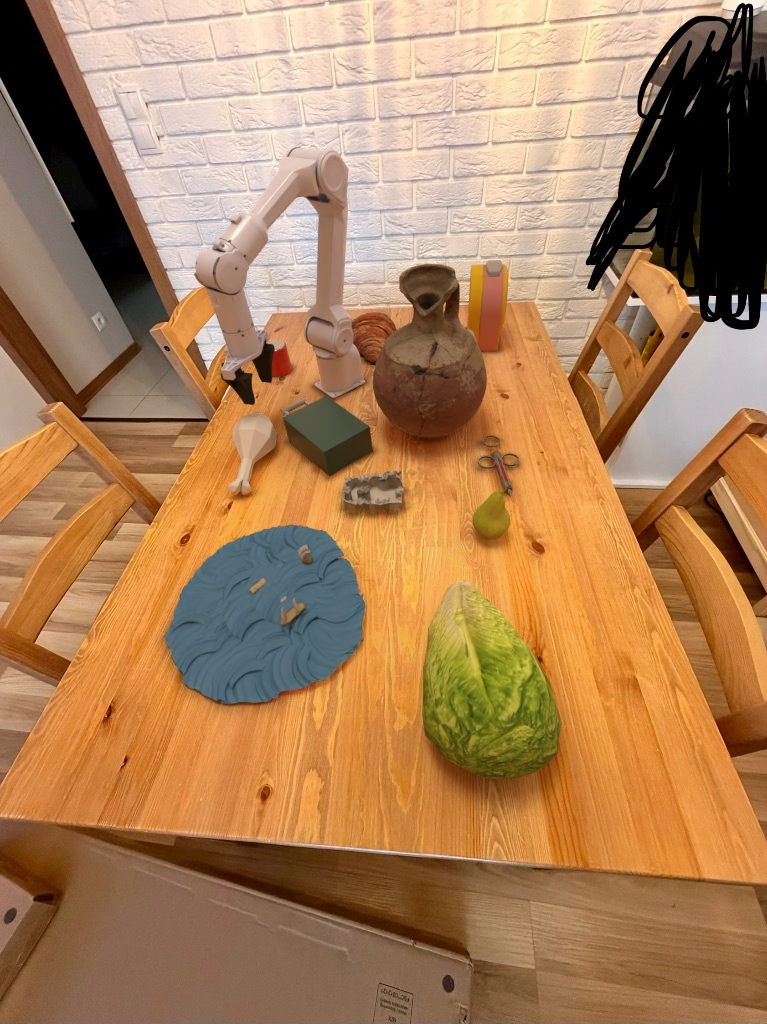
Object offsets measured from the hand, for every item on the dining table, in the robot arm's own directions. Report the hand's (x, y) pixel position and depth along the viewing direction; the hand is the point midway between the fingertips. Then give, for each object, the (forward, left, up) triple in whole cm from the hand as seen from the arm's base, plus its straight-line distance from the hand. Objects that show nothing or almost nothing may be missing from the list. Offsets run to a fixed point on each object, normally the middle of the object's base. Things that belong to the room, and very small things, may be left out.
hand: (258, 392), depth 91 cm
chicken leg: (+8, +8, -10) cm, 15 cm away
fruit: (-12, +50, -10) cm, 53 cm away
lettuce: (+7, +66, -10) cm, 67 cm away
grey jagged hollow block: (-3, +31, -10) cm, 33 cm away
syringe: (-25, +41, -10) cm, 49 cm away
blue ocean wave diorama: (+22, +38, -10) cm, 45 cm away
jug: (-25, +22, -10) cm, 35 cm away
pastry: (-38, -13, -10) cm, 42 cm away
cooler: (-6, +13, -10) cm, 18 cm away
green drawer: (-6, +9, -9) cm, 14 cm away
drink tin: (-14, -20, -10) cm, 26 cm away
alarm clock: (-59, +6, -10) cm, 60 cm away
